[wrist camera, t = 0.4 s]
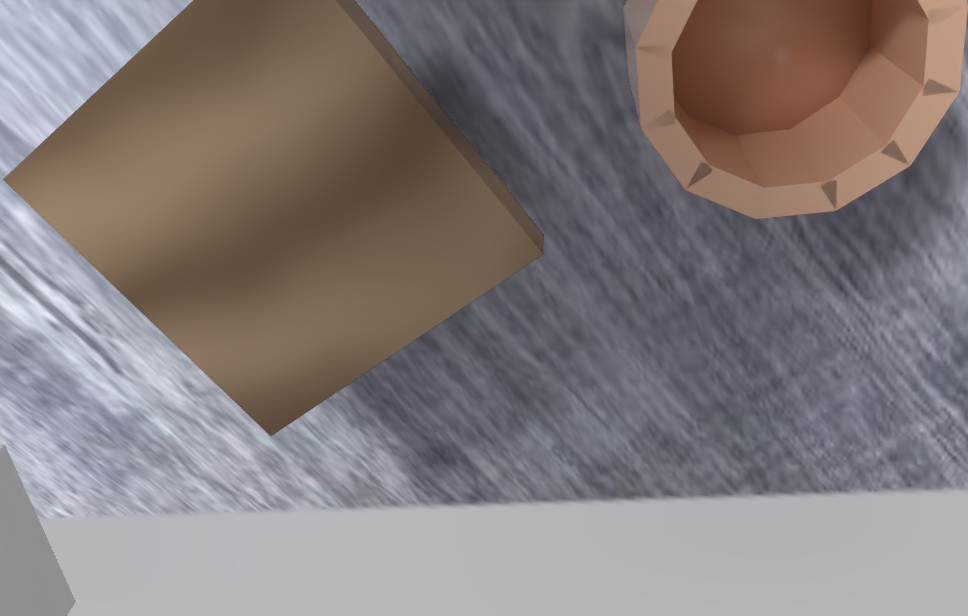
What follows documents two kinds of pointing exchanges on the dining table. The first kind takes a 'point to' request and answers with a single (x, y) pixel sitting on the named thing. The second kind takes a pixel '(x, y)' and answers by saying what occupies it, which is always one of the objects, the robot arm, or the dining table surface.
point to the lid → (278, 198)
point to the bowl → (791, 94)
